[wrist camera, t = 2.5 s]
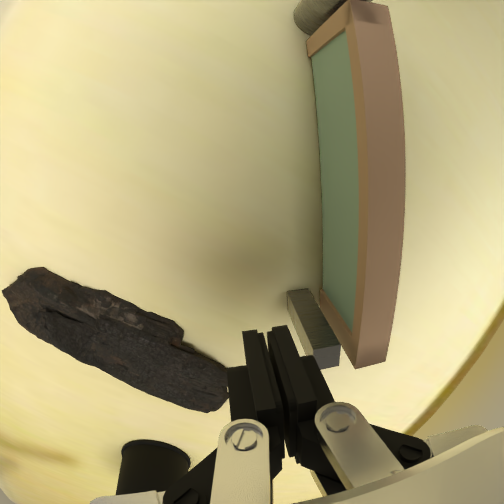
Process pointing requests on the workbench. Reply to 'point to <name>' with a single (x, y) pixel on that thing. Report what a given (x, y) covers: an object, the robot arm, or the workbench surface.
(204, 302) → the workbench surface
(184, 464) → the aerosol can
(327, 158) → the gate
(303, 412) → the robot arm
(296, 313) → the gate posts
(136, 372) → the wood
